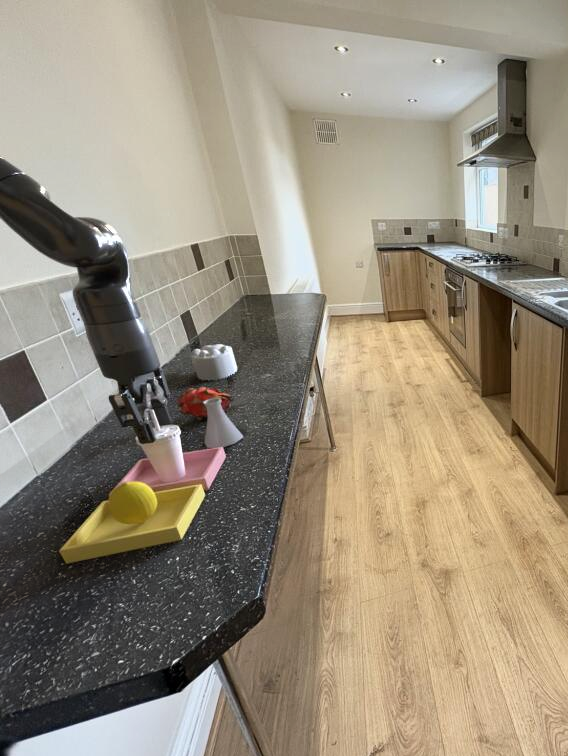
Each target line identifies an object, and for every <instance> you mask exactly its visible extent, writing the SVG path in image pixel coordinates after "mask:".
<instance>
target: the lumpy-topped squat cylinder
mask: <svg viewBox="0 0 568 756" xmlns="http://www.w3.org/2000/svg"><path fill="white" fill-rule="evenodd" d="M190 357H191V361H192V364H193V367H194V370H195V372H196V373H195V374H196V376H197V379H198V378H199V379H198V380H200V379H201V380H200V381H204V380H208V381H207V382H211V381H210V380H214V381H218V379H219V380H223V379H226V378H229V377H231V376H233V375H235V374H236V373H237V371H238V365H237V362H236V358H235V355H234V352H233V348H232V346H230V345H225V344H222V343H219V344H218V343H217V344H209V345H203V346H202V347H201V348H194V349H193V350H192V351H191V356H190ZM235 372H236V373H235ZM232 374H233V375H232ZM230 375H231V376H230ZM228 376H229V377H228ZM225 377H226V378H225ZM222 378H223V379H222Z"/></svg>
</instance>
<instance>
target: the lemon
mask: <svg viewBox="0 0 568 756" xmlns="http://www.w3.org/2000/svg"><path fill="white" fill-rule="evenodd" d="M114 488H115V487H114ZM114 488H113V489H114ZM113 489H112V490H113ZM112 490H111V491H112ZM110 493H111V492H110ZM110 493H109V494H110ZM107 501H108V506H109V510H110V513H111V514H112V516H113V517H114V519H116V520H117V521H118V522H120V523H123V524H128V525H133V524H143V523H144V522H145V521H146V520H147V519H149V518H150V517H151V516H152V515H153V513H154V512H155V510H156V507H157V499H156V496H155V493H154V492H153V490H152V489H151V488H150V487H149V486H147V485H146V484H144V483H141V482H123V483H122V484H121V485H119V486H118V487H117V488H115V489H114V490H113V491H112V493H111V494H110V496H109V495H108V499H107Z"/></svg>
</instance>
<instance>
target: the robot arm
mask: <svg viewBox="0 0 568 756" xmlns="http://www.w3.org/2000/svg"><path fill="white" fill-rule="evenodd" d="M0 220H1V221H2V222H4V224H6V225H7V226H8V227H9V229H11V231H13V232H14V233H15V234H16V235H18V236H19V237H20V238H21V239H23V240H24V241H25V242H26V243H27V244H28V245H30V246H31V247H32V248H33V249H34V250H36V251H38V252H39V253H40V254H41V255H43V256H45V257H46V258H49V259H50V260H52V261H54V262H56V263H59V264H61V265H63V266H66V267H71V268H76V271H77V276H78V283H77V284H76V285H75V286H74V287H73V288H72V298H73V301H74V304H75V306H76V309H77V312H78V314H79V316H80V318H81V322H82V323H83V326H84V330H85V335H86V339H87V341H88V343H89V345H90V348H91V350H92V353H93V355H94V357H95V361H96V362H97V365H98V367H99V369H100V372H101V374H102V376H103V377H104V378H106V379H109V380H113V381H116V382H117V383H116V384H117V390H118V393H116V394H110V395H108V402H109V403H110V405H111V407H112V410H113V412H114V413H115V416H116V417H117V420H118V421H119V424H120V426H121V428H129V427H132V429H133V431H134V433H135V435H136V436H137V438H138V440H139V442H140V443H141V444H147V443H153V442H154V441H155V440H156V436H155V434H154V431H153V428H154V427H153V426H152V423H151V421H150V417H149V416H150V415H149V412H150V411H149V410H151V409H153V410H154V413H155V415H156V418H157V421H158V424H159V426H164V425H171V423H172V422H173V420H172V417H171V415H170V411H169V409H168V406H167V405H168V403H169V402H168V399H170V398H171V393H170V390H169V389H170V388H169V387H168V383H167V380H166V377H165V373H164V370H163V368H162V367H161V362H160V360H159V356H158V353H157V351H156V348H155V346H154V342H153V340H152V336H151V334H150V330H149V328H148V327H147V324H146V323H145V320H144V319H143V317H142V315H141V312H140V309H139V306H138V304H137V303H138V302H137V301H136V298H135V295H134V294H133V291H132V290H133V289H132V283H131V282H132V280H131V271H130V263H129V257H128V251H127V248H126V246H125V243H124V241H123V239H122V237H121V235H120V234H119V233H118V231H117V230H116V229H115V228H114V227H113V226H111V225H110V224H109V223H107V222H105V221H103V220H101V219H99V218H94V217H88V216H87V217H86V216H76V217H75V216H72V215H71V214H69V213H67V212H66V211H64V210H63V209H62V208H61V207H60V206H58V205H56V203H54V202H53V201H51V195H50V193H49V192H48V190H47V189H46V188H45V187H44V186H43V185H42V184H40V182H38V181H36V180H35V179H34V178H33V177H31V176H29V174H27V173H25V172H24V171H22V170H21V169H20V168H18V167H17V166H15V165H14V164H13V163H11V162H10V161H8V160H6V158H4V157H2V156H0Z"/></svg>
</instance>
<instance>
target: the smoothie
mask: <svg viewBox="0 0 568 756" xmlns="http://www.w3.org/2000/svg"><path fill="white" fill-rule="evenodd" d="M148 412H149V413H150V416H151V419H152V421H153V425H154V427H152V428H153V431H154V434H155V436H156V440H155V441H154V442H153V443H147V444H141V443H140V442H139V440H138V438H137V435H136V436H135V437H134V439H135V441H136V445H137V446H140V447H141V449H142V451H143V452H144V454H145V456H146V458H148V459H149V461H150V462H151V464H152V466H153V467H154V469H155V471H156V472H157V474H158V476H159V478H160V479H161V481H162V482H164V483H169V482H174V481H177V480H179V479H181V478H183V477H184V476H185V475H186V472H185V466H184V460H183V454H182V453H183V449H182V443H181V436H180V435H181V434H182V430H181V428H180V426H178V425H177V424H176V425H175V424H169V425H162V426H159V424H158V421H157V418H156V415H155V413H154V410H153V409H150V410H149V411H148Z"/></svg>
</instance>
